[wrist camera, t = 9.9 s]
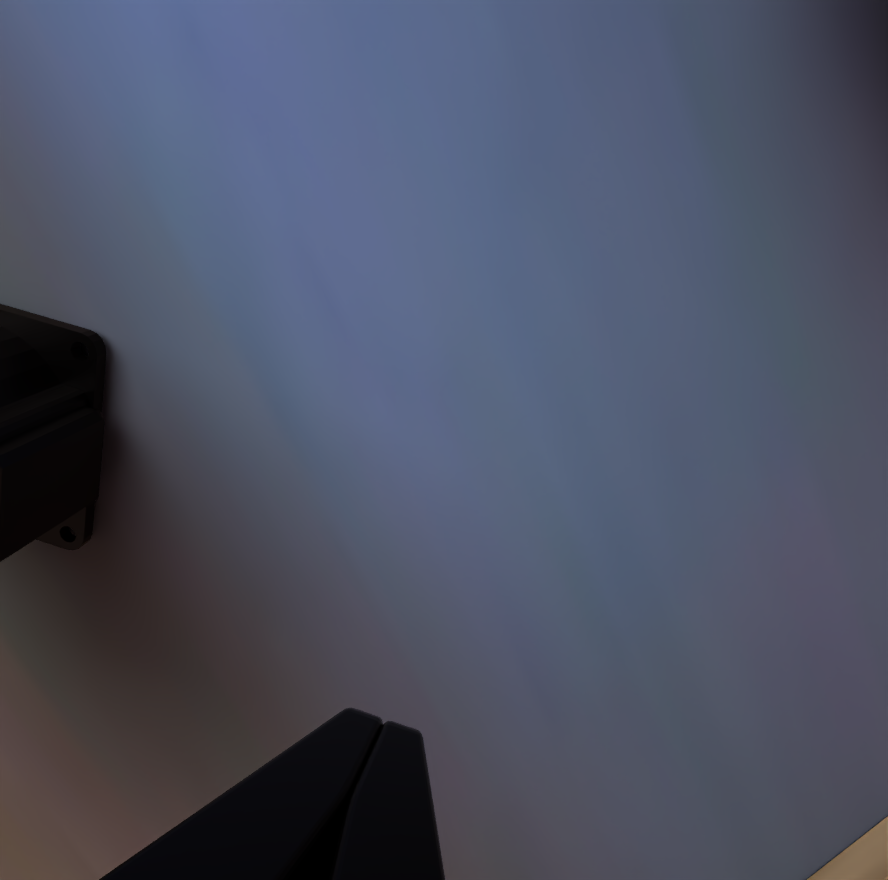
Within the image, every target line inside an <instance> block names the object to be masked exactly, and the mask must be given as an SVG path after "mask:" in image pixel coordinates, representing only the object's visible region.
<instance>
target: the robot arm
mask: <svg viewBox="0 0 888 880" xmlns="http://www.w3.org/2000/svg"><path fill="white" fill-rule="evenodd" d="M81 343H83V344H85V346H86V347H87V349H88V353H89V355H88V357H87V356H85V355H84V354H83V353H82V351H81V348H80V344H81ZM105 362H106V347H105V344H104V342H103V340H102V338H101V337H100V336H99V335H98V334H97V333H95V332H93V331H91V330H88V329H85V328H81V327H78V326H74V325H71V324H68V323H64V322H61V321H57V320H54V319H50V318H47V317H44V316H40V315H37V314H33V313H30V312H26V311H23V310H19V309H16V308H13V307H9V306H6V305H2V304H0V562H1V561H2V560H4V559H5V558H7V557H9V556H10V555H12V554H13V553H15V552H16V551H18V550H19V549H21V548H23V547H24V546H26V545H27V544H29V543H30V542H32V541H33V540H35V539H36V540H39V541H42V542H45V543H49V544H52V545H55V546H58V547H61V548H64V549H67V550H75V549H79V548H80V547H81V546H83V545H84V544H86V543H87V542H88V541H89V540H90V539H91V536H92V530H93V517H94V504H95V501H96V500H97V499H98V496H99V484H100V472H101V459H102V446H103V434H104V418H103V416H102V401H103V388H104V375H105ZM69 527H70V528H72V529H73V530H74V532H75V534H76V536H75V535H73V534H72V533H71V532H70V530H69ZM99 880H445V875H444V869H443V863H442V856H441V850H440V843H439V837H438V831H437V824H436V818H435V812H434V805H433V799H432V792H431V786H430V780H429V773H428V767H427V761H426V754H425V748H424V741H423V737H422V734H421V733H420V731H418V730H416V729H414V728H411V727H408V726H405V725H402V724H399V723H396V722H393V721H387V722H386V723H385V724H384V725H383V722H382V719H381V718H380V717H378V716H375V715H372V714H369V713H366V712H363V711H360V710H357V709H355V708H347V709H344V710H343V711H341V712H340V713H338V714H337V715H336V716H334V717H333V718H331V719H330V720H328V721H327V722H325V723H324V724H323V725H321V726H320V727H318V728H317V729H315V730H314V731H313V732H311V733H310V734H308V735H307V736H305V737H304V738H302V739H301V740H300V741H298V742H297V743H295V744H294V745H292V746H291V747H289V748H288V749H287V750H285V751H284V752H282V753H281V754H279V755H278V756H276V757H275V758H274V759H272V760H271V761H269V762H268V763H266V764H265V765H264V766H262V767H261V768H259V769H258V770H256V771H255V772H253V773H252V774H251V775H249V776H248V777H246V778H245V779H243V780H242V781H240V782H239V783H238V784H236V785H235V786H233V787H232V788H230V789H229V790H227V791H226V792H225V793H223V794H222V795H220V796H219V797H217V798H216V799H215V800H213V801H212V802H210V803H209V804H207V805H206V806H204V807H203V808H202V809H200V810H199V811H197V812H196V813H194V814H193V815H191V816H190V817H189V818H187V819H186V820H184V821H183V822H181V823H180V824H178V825H177V826H176V827H174V828H173V829H171V830H170V831H168V832H167V833H165V834H164V835H163V836H161V837H160V838H158V839H157V840H155V841H154V842H152V843H151V844H150V845H148V846H147V847H145V848H144V849H142V850H141V851H139V852H138V853H137V854H135V855H134V856H132V857H131V858H129V859H128V860H127V861H125V862H124V863H122V864H121V865H119V866H118V867H116V868H115V869H114V870H112V871H111V872H109V873H108V874H106V875H105V876H103V877H102V878H101V879H99Z"/></svg>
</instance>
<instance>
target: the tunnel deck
mask: <svg viewBox="0 0 888 880" xmlns="http://www.w3.org/2000/svg"><path fill="white" fill-rule="evenodd" d="M807 880H888V816H887V817H886V818H885V819H884V820H882V821H881V822H880V823H879V824H877V825H876V826H875V827H873V828H872V829H871V830H870V831H868V832H867V833H866V834H864V835H863V836H862V837H861V838H859V839H858V840H857V841H856V842H854V843H853V844H852V845H850V846H849V847H848V848H847V849H845V850H844V851H843V852H842V853H840V854H839V855H838V856H836V857H835V858H834V859H833V860H831V861H830V862H829V863H827V864H826V865H825V866H824V867H822V868H821V869H820V870H819V871H817V872H816V873H815V874H813V875H812V876H811V877H810V878H808V879H807Z"/></svg>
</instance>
